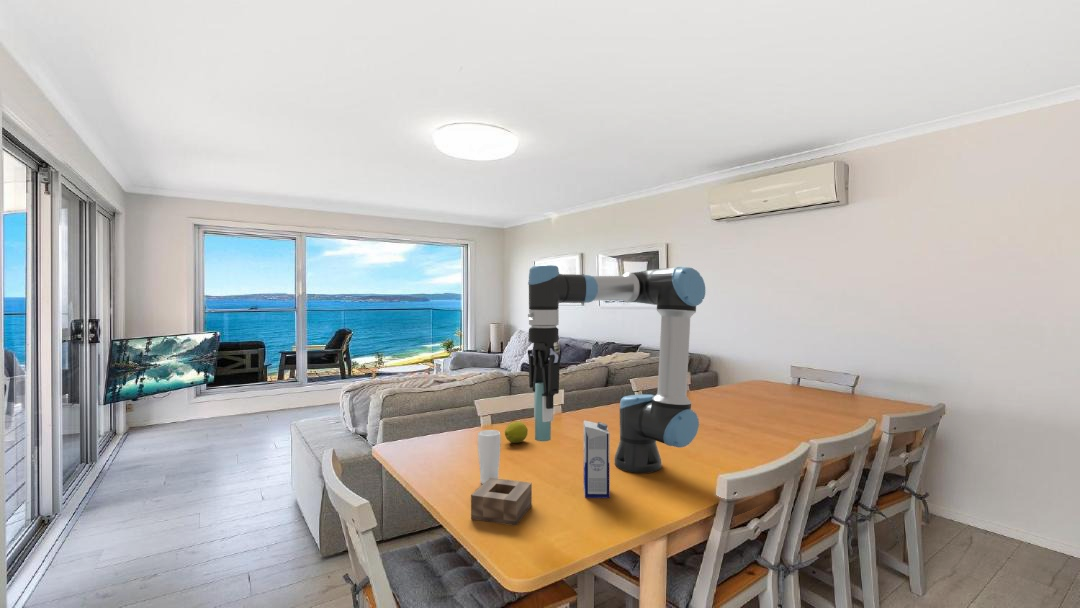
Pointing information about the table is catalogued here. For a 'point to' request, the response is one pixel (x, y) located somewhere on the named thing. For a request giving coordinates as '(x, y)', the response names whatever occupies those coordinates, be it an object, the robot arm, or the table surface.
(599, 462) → the milk carton
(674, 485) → the table surface
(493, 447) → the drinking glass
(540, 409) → the dowel
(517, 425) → the lemon
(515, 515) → the bore block
